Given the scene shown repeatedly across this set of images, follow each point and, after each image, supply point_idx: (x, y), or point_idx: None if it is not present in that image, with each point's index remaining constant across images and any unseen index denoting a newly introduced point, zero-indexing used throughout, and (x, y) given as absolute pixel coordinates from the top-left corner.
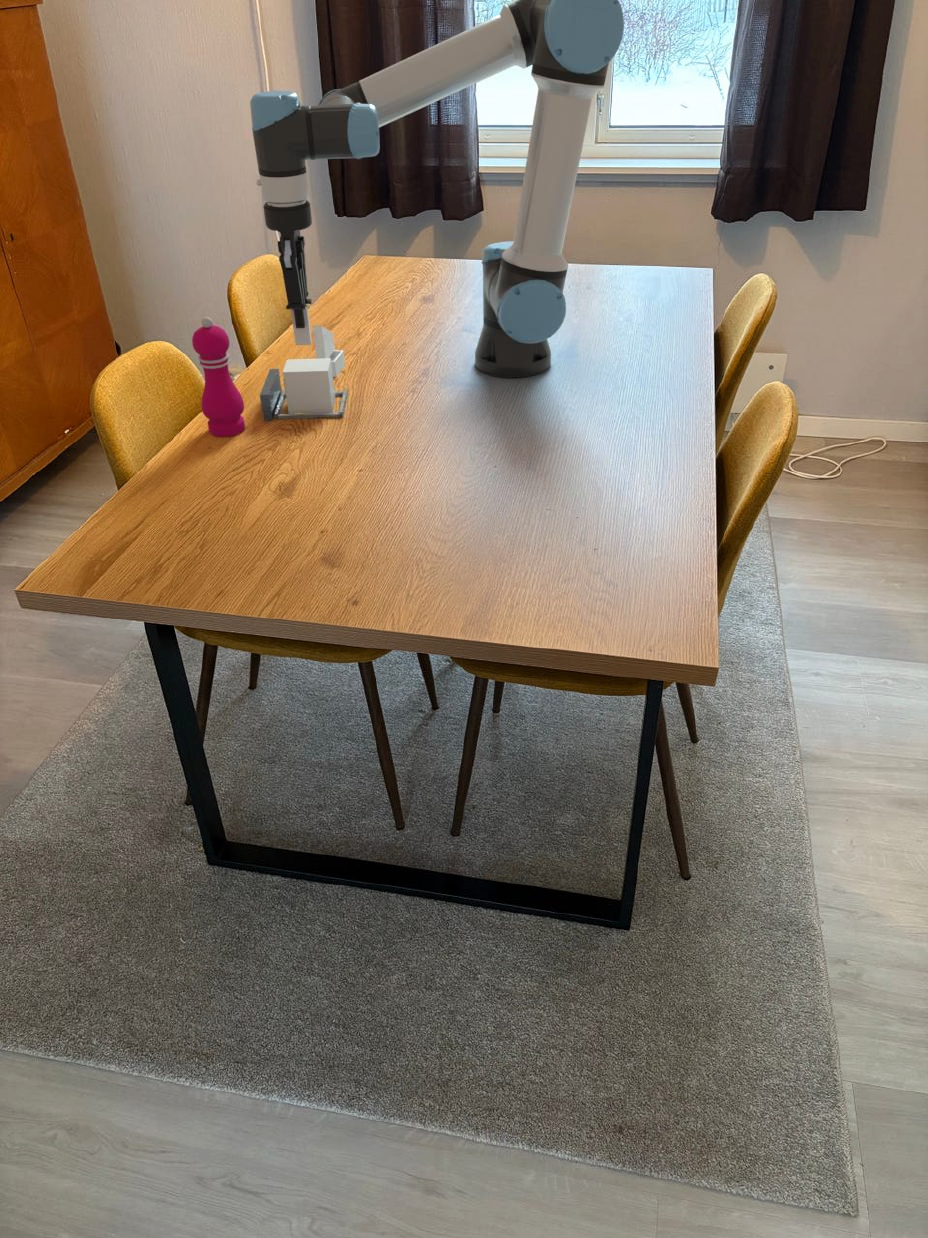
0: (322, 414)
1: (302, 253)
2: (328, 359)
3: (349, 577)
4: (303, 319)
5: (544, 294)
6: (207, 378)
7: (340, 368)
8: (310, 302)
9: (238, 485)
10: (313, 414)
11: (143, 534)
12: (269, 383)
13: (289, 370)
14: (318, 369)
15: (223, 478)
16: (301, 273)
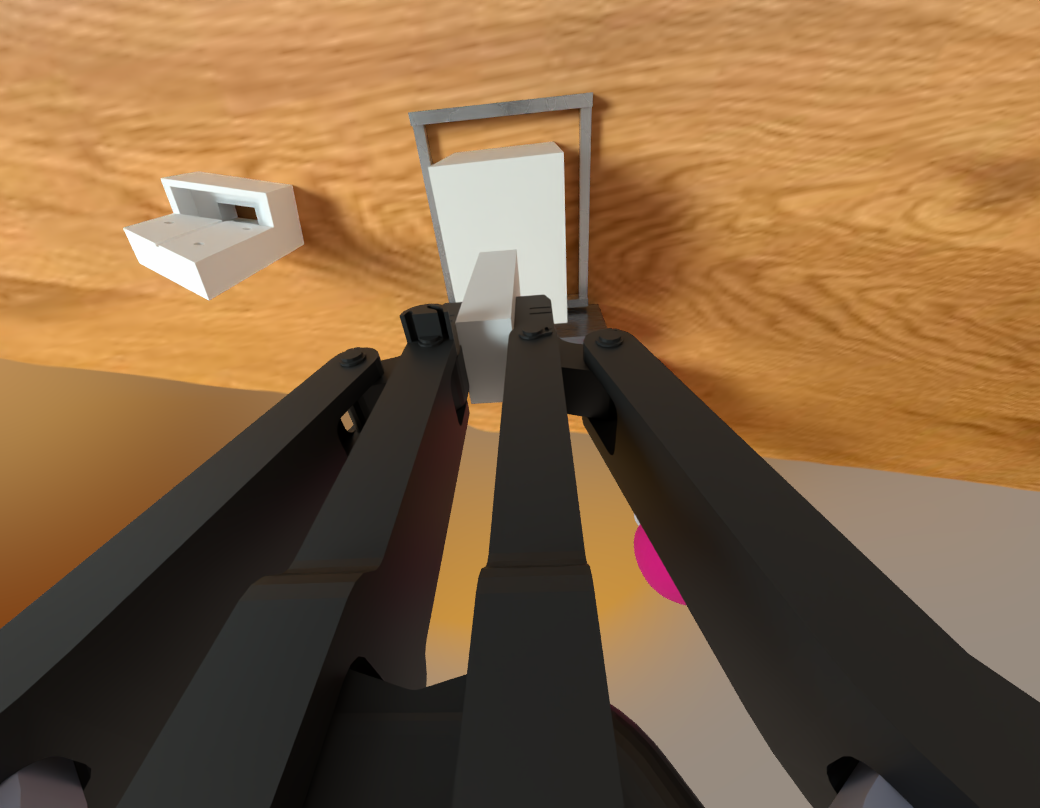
0: (589, 169)
1: (299, 764)
2: (444, 175)
3: None
4: (541, 312)
5: None
6: None
7: (241, 179)
8: (447, 309)
9: (915, 305)
10: (587, 200)
11: (1013, 413)
12: None
13: (554, 304)
14: (548, 199)
15: (862, 341)
16: (503, 501)
